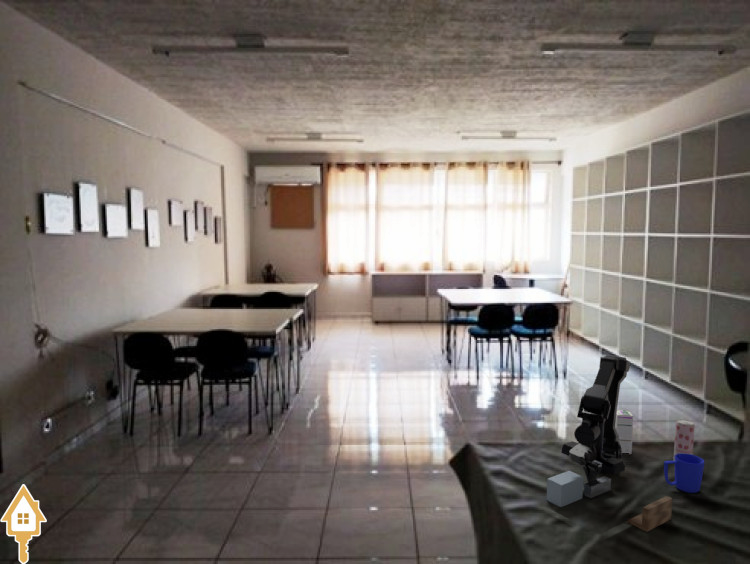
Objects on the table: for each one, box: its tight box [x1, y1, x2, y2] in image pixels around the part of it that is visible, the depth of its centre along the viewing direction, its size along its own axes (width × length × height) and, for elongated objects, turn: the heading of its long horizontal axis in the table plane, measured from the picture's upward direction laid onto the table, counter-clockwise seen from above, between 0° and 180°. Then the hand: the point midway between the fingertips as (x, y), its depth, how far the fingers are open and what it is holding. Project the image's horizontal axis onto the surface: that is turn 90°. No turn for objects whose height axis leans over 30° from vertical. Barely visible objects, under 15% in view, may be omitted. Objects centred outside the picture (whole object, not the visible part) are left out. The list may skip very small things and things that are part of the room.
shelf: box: [625, 495, 673, 533], centre depth 163 cm, size 12×28×6 cm, turn 34°
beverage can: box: [672, 418, 695, 461], centre depth 192 cm, size 6×6×15 cm
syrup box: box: [615, 409, 634, 455], centre depth 203 cm, size 6×6×14 cm
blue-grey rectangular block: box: [546, 470, 584, 508], centre depth 163 cm, size 10×5×8 cm, turn 124°
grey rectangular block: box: [583, 475, 612, 499], centre depth 168 cm, size 10×2×4 cm, turn 124°
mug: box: [663, 453, 705, 494], centre depth 173 cm, size 8×12×10 cm
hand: (590, 483), depth 170 cm, fingers closed
